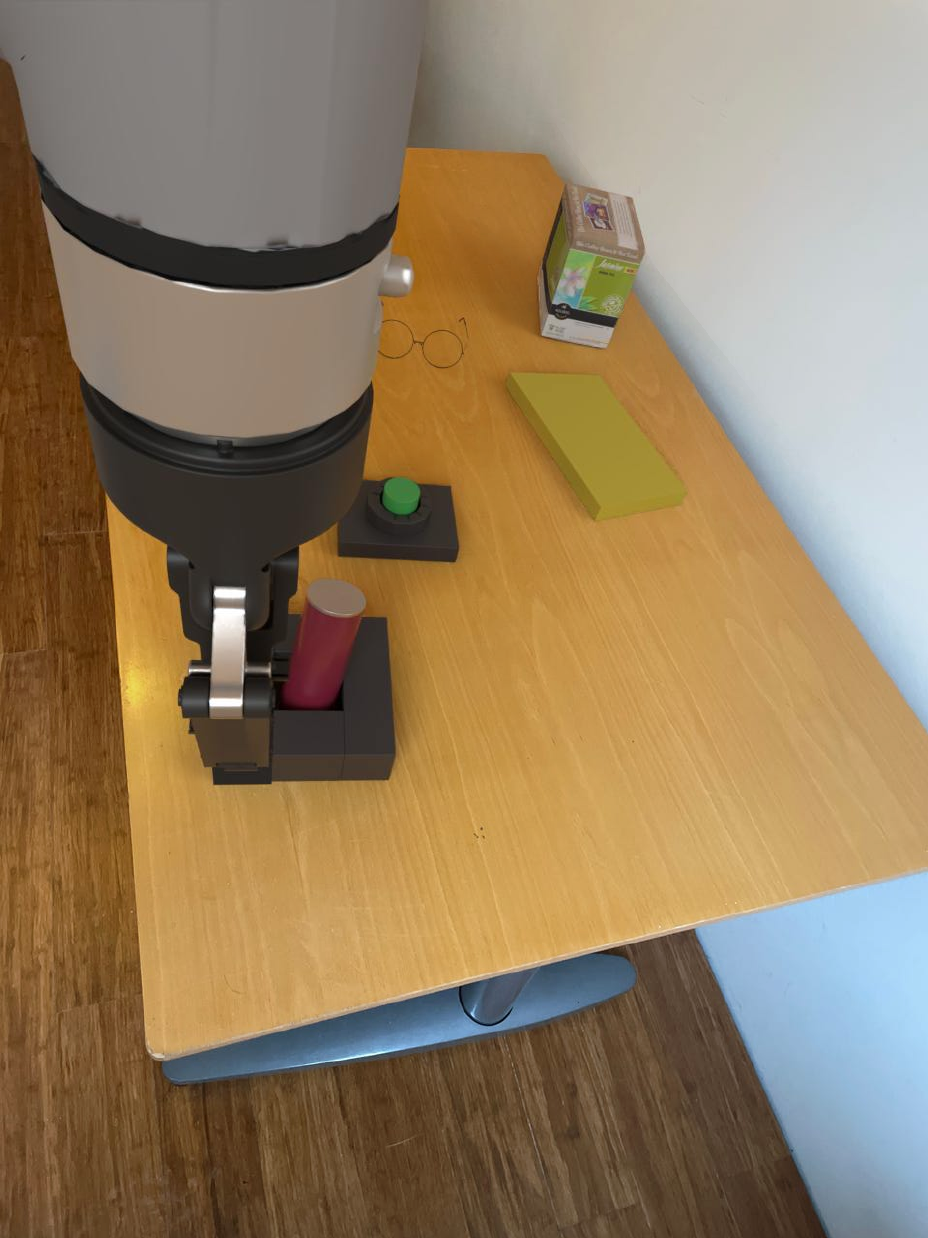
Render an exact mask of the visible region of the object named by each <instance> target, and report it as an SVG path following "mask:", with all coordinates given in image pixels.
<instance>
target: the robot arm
mask: <svg viewBox="0 0 928 1238" xmlns="http://www.w3.org/2000/svg"><path fill="white" fill-rule="evenodd" d="M429 2H430V0H0V60H2V61H5V62H6V63H8V64H9V65H10V67H11V70H12V74H13V77H14V81H15V84H16V88H17V92H18V97H19V100H20V107H21V112H22V117H23V119H24V126H25V130H26V134H27V139H28V143H29V147H30V153H31V155H32V157H33V160H34V163H35V169H36V173H37V180H38V188H39V196H40V200H41V205H42V211H43V216H44V223H45V227H46V232H47V237H48V241H49V246H50V252H51V258H52V261H53V268H54V273H55V277H56V283H57V289H58V293H59V298H60V304H61V308H62V314H63V319H64V323H65V328H66V334H67V340H68V344H69V345H68V346H69V350H70V354H71V359H72V360H73V361H74V362H75V364H76V366H77V368H78V369H79V373H78V374H79V389H80V394H81V398H82V403H83V408H84V413H85V418H86V419H85V420H86V423H87V428H88V433H89V438H90V442H91V448H92V452H93V458H94V462H95V468H96V471H97V475H98V479H99V481H100V485H101V486H102V488H103V491H104V492H105V494H106V495H107V498H108V499H109V500H110V502H111V503H112V504H113V506H114V507H115V508H116V509H117V510H118V512H120V514H122V516H124V518H126V519H127V520H128V521H129V522H130V523H131V524H132V525H134V526H136V527H137V528H138V529H140V530H141V531H142V532H144V533H146V534H148V535H149V536H150V537H153V538H155V539H156V540H158V541H159V542H161V543H163V544H165V545H166V573H167V579H168V585H169V588H170V590H172V591H173V592H174V593H175V594H177V596H178V600H179V609H180V618H181V627H182V634H183V636H184V637H185V638H186V639H187V640H188V641H191V642H194V643H196V644H197V645H198V646H199V650H200V659H190V660H189V661H188V665H187V676H184V677H183V682H182V685H180V688H178V691H177V706H178V707H180V710H181V717H182V719H184V720H185V719H186V720H187V719H188V720H189V723H188V733H187V734H188V735H194V737H195V740H196V743H197V747H198V750H199V754H200V759H201V761H202V765H203V768H211V773H212V774H211V775H212V785H213V786H250V785H252V786H255V785H264V786H265V785H272V783H273V782H272V758H273V728H274V710H275V707H276V686H273V687H271V681H273V682H284V681H289V674H290V656H272V647H273V646H274V645H275V644H278V643H281V642H283V641H284V640H286V638H287V628H288V614H289V607H290V606H289V605H290V599H291V598H293V597H294V596H295V595H296V594H297V593H298V586H299V572H300V571H299V570H300V546H302V545H304V544H307V543H309V542H311V541H312V540H315V539H316V538H318V537H320V536H321V535H323V534H325V533H326V532H328V530H330V529H331V528H333V527H334V526H335V525H337V522H338V521H339V520H340V519H341V518H342V517H343V516H344V515H345V514H346V512H347V511H348V510H349V509H350V507H351V506H352V504H353V503H354V501H355V499H356V497H357V495H358V492H359V490H360V487H361V483H362V480H364V471H365V465H366V458H367V451H368V443H369V436H370V429H371V423H372V416H373V415H372V414H373V408H374V401H375V400H374V399H375V396H374V395H375V391H374V385H373V377H374V374H375V372H376V369H377V365H378V356H379V355H378V354H379V352H378V350H379V351H380V349H379V348H380V343H381V342H380V341H381V335H382V329H383V328H382V327H383V323H382V322H383V321H384V316H383V315H384V314H383V305H382V303H383V302H382V303H381V301H382V299H381V297H387V298H394V299H396V298H404V297H407V296H408V295H409V294H410V293H411V291H412V289H413V285H414V284H413V283H414V281H415V272H414V269H413V265H412V261H411V259H410V257H408V256H406V255H405V256H404V255H401V254H396V253H395V254H394V253H392V250H393V244H394V234H395V232H396V230H397V223H398V215H399V208H400V198H401V194H400V193H401V187H402V181H403V173H404V166H405V160H406V154H407V147H408V141H409V135H410V128H411V121H412V115H413V107H414V101H415V95H416V88H417V82H418V76H419V75H418V74H419V68H420V63H421V55H422V50H423V49H422V48H423V42H424V36H425V28H426V22H427V16H428V8H429Z"/></svg>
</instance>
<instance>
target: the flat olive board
mask: <svg viewBox="0 0 928 1238" xmlns="http://www.w3.org/2000/svg"><path fill="white" fill-rule="evenodd" d="M505 388H506V390H507V391H508V393H509V394H510V396H511V397H512V399H513V400H514V402H515V403H516V405H517V406H518V408H519V409H520V410H521V412H522V414H523V415H524V417H525V418H526V420H527V421H528V423H529V424H530V426H531V428H532V429H533V430H534V432H535V433H536V435H537V436H538V438H539V440H540V441H541V442H542V444H543V446H544V447H545V448H546V450H547V452H548V453H549V455H550V456H551V457H552V459H553V461H554V462H555V463H556V465H557V467H558V468H559V470H560V471H561V473H562V474H563V476H564V477H565V479H566V480H567V482H568V483H569V485H570V486H571V488H572V489H573V491H574V492H575V494H576V495H577V497H578V498H579V500H580V501H581V503H582V505H583V506H584V507H585V509H586V511H587V512H588V514H589V515H590V516H591V518H592V520H593V521H594V522H597V521H598V522H599V521H602V520H607V519H608V520H609V519H612V518H618V517H622V516H623V517H624V516H629V515H635V514H640V513H644V512H649V511H655V510H661V509H665V508H671V507H675V506H681V504H682V503H683V502H684V499H685V497H686V496H687V494H688V489H687V488H686V487H685V485H684V484H683V482H682V481H681V480H680V479H679V477H678V476H677V475H676V474H675V472H674V471H673V469H672V468H671V466H669V464H668V463H667V461H665V459H664V458H663V456H662V455H661V454H660V453H659V451H658V450H657V449H656V447H655V446H654V444H653V443H652V442H651V441H650V439H649V438H648V437H647V436H646V434H645V433H644V431H643V430H642V428H641V427H640V426H639V425H638V424H637V423H636V421H635V419H634V418H633V417H632V416H631V415H630V413H629V411H627V409H626V407H624V406H623V403H621V401H620V400H619V399H618V397H617V396H616V394H615V393H614V392H613V391H612V390H611V388H610V387H609V386H608V384H607V383H606V382H605V381H604V379H603V378H602V376H601V375H600V374H575V373H574V374H571V373H548V372H547V373H545V372H544V373H543V372H521V371H520V372H515V371H509V373H508V376H507V379H506V382H505Z"/></svg>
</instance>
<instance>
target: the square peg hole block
mask: <svg viewBox="0 0 928 1238" xmlns="http://www.w3.org/2000/svg"><path fill="white" fill-rule="evenodd" d="M300 616H301V613H288V628H287V638H286V640H284V641H283V642H281V643H278V644H275V645H274V646H273V647H272V656H291V652H292V648H293V644H294V640H295V636H296V632H297V628H298V624H299V620H300ZM388 627H389V626H388V617H386V616H364V615H363V616H362V619H361V623H360V626H359V629H358V632H357V636H356V639H355V642H354V646H353V649H352V652H351V656H350V659H349V662H348V665H347V669H346V672H345V675H344V679H343V682H342V685H341V688H340V692H339V695H338V710H334V711H299V710H278V709H274V728H273V758H272V783H273V782H340V781H341V782H344V781H345V782H347V781H350V782H351V781H353V782H354V781H389V780H390V777H391V773H392V770H393V765H394V763H395V759H396V756H397V751H396V735H395V721H394V705H393V704H394V703H393V702H394V701H393V689H392V674H391V659H390V658H391V657H390V643H389V628H388ZM271 687H274V681H271Z"/></svg>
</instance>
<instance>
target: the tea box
mask: <svg viewBox="0 0 928 1238" xmlns="http://www.w3.org/2000/svg"><path fill="white" fill-rule="evenodd" d="M558 203H559V204H558V208H557V211H556V214H555V217H554V221H553V224H552V227H551V230H550V234H549V237H548V241H547V244H546V247H545V251H544V254H543V256H542V257H543V258H542V260H541V263H540V266H539V270H538V274H539V285H538V276H537V277H536V286H537V299H538V314H539V316H538V317H539V328H540V336H542V337H545V338H550V339H553V340H558V341H564V342H568V343H573V344H578V345H584V346H589V347H593V348H598V349H599V348H600V349H606V348H607V347H608V346H609V344H610V341H611V339H612V337H613V334H614V331H615V328H616V326H617V323H618V321H619V319H620V316H621V313H622V311H623V309H624V306H625V303H626V301H627V298H628V297H629V294H630V291H631V289H632V286H633V283H634V281H635V278H636V276H637V274H638V272H639V269H640V267H641V264H642V262H643V259H644V256H645V253H646V246H645V245H646V244H645V241H644V237H643V233H642V229H641V226H640V222H639V218H638V214H637V210H636V207H635V204H634V198H633V197H631V196H628V195H623V194H619V193H615V192H612V191H611V192H610V191H607V190H603V189H598V188H593V187H588V186H585V185H581V184H576V183H571V182H565V185H564V187H563V191H562V194H561V197H560V200H559V202H558ZM539 286H540V302H539ZM540 310H541V317H540ZM541 327H542V329H541ZM546 332H547V333H546ZM557 334H558V335H557ZM579 338H580V339H579ZM583 339H585V340H583ZM586 339H589V340H591V341H589V340H586ZM592 340H594V341H598V342H594V341H592ZM599 341H600V342H604V343H608V344H604V343H599Z"/></svg>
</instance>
